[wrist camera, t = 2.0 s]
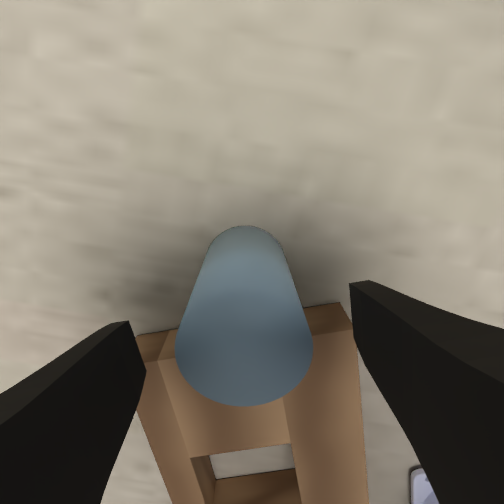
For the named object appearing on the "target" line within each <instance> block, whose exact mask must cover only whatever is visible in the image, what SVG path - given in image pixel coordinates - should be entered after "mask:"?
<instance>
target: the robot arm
mask: <svg viewBox="0 0 504 504" xmlns="http://www.w3.org/2000/svg"><path fill="white" fill-rule="evenodd" d="M349 288H350V300H351V313H352V326H353V338H354V340H355V343H356V345H357V348H358V350H359V352H360V355H361V357H362V359H363V361H364V364H365V366H366V368H367V369H368V371H369V373H370V374H371V376H372V378H373V380H374V381H375V383H376V385H377V386H378V388H379V390H380V392H381V393H382V395H383V397H384V398H385V400H386V402H387V403H388V405H389V407H390V408H391V410H392V412H393V413H394V415H395V417H396V418H397V420H398V422H399V424H400V425H401V427H402V429H403V430H404V432H405V434H406V436H407V438H408V439H409V441H410V443H411V445H412V447H413V449H414V451H415V453H416V455H417V457H418V459H419V461H420V464H421V466H422V469H416V470H414V471H413V472H412V473H411V504H504V329H502V328H499V327H495V326H491V325H488V324H484V323H481V322H477V321H474V320H471V319H468V318H465V317H462V316H459V315H456V314H453V313H450V312H448V311H445V310H442V309H439V308H436V307H434V306H431V305H429V304H426V303H424V302H421V301H419V300H416V299H414V298H411V297H409V296H407V295H404V294H402V293H400V292H397V291H395V290H393V289H390V288H388V287H386V286H383V285H381V284H378V283H376V282H373V281H370V280H366V281H360V282H354V283H349ZM146 372H147V370H146V368H145V365H144V362H143V359H142V356H141V354H140V351H139V348H138V345H137V342H136V340H135V337H134V334H133V331H132V328H131V326H130V323H129V320H128V321H122V322H116V323H111V324H109V325H107V326H105V327H103V328H101V329H99V330H98V331H96V332H95V333H93V334H91V335H90V336H88V337H87V338H85V339H84V340H82V341H81V342H79V343H78V344H76V345H75V346H74V347H72V348H71V349H69V350H68V351H66V352H65V353H63V354H62V355H60V356H59V357H57V358H56V359H54V360H53V361H51V362H50V363H48V364H47V365H45V366H44V367H42V368H41V369H39V370H38V371H36V372H34V373H33V374H31V375H30V376H28V377H27V378H25V379H24V380H22V381H20V382H19V383H17V384H16V385H14V386H13V387H11V388H9V389H8V390H6V391H4V392H3V393H1V394H0V504H100V503H101V500H102V496H103V493H104V490H105V488H106V485H107V482H108V479H109V476H110V474H111V471H112V469H113V466H114V464H115V461H116V459H117V456H118V454H119V451H120V449H121V446H122V444H123V441H124V439H125V437H126V434H127V432H128V429H129V427H130V424H131V422H132V419H133V416H134V414H135V411H136V409H137V406H138V403H139V401H140V397H141V393H142V390H143V386H144V381H145V377H146Z"/></svg>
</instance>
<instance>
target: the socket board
mask: <svg viewBox="0 0 504 504" xmlns="http://www.w3.org/2000/svg"><path fill="white" fill-rule="evenodd" d="M303 311H304V314H305V317H306V320H307V323H308V326H309V329H310V332H311V335H312V340H313V356H312V360H311V364H310V367H309V369H308V371H307V373H306V375H305V376H304V378H303V379H302V380H301V382H300V383H299V384H298V385H297V386H296V387H295V388H294V389H293V390H291V391H290V392H289V393H287V394H286V395H284V396H282V397H281V398H279V399H276V400H274V401H272V402H269V403H266V404H261V405H257V406H231V405H226V404H222V403H219V402H216V401H213V400H211V399H209V398H207V397H205V396H203V395H202V394H200V393H199V392H197V391H196V390H195V389H194V388H193V387H192V386H191V385H190V384H189V383H188V382H187V381H186V380H185V378H184V377H183V375H182V374H181V372H180V370H179V368H178V365H177V362H176V358H175V349H174V348H175V339H176V335H177V331H178V329H175V330H168V331H162V332H156V333H150V334H144V335H138V336H137V337H136V339H135V340H136V342H137V345H138V348H139V351H140V354H141V356H142V359H143V362H144V365H145V368H146V370H147V372H146V377H145V381H144V386H143V390H142V393H141V397H140V401H139V403H138V406H137V409H136V410H137V413H138V416H139V418H140V421H141V423H142V426H143V429H144V431H145V434H146V436H147V439H148V441H149V444H150V447H151V449H152V452H153V454H154V457H155V460H156V462H157V465H158V467H159V470H160V472H161V475H162V478H163V480H164V483H165V485H166V488H167V491H168V493H169V496H170V498H171V501H172V503H173V504H369V497H368V485H367V472H366V459H365V446H364V433H363V421H362V408H361V395H360V382H359V369H358V356H357V345H356V343H355V340H354V338H353V326H352V322H351V321H350V319H349V317H348V316H347V314H346V312H345V311H344V309H343V307H342V306H341V304H340V302H339V303H332V304H326V305H320V306H314V307H308V308H303ZM287 443H291V447H292V453H293V458H294V464H295V469H289V470H282V471H275V472H268V473H261V474H254V475H247V476H240V477H233V478H226V479H219V480H216V479H215V476H214V472H213V469H212V466H211V463H210V459H209V456H208V455H213V454H219V453H226V452H233V451H240V450H247V449H253V448H260V447H267V446H274V445H281V444H287Z"/></svg>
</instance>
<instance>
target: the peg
mask: <svg viewBox="0 0 504 504" xmlns="http://www.w3.org/2000/svg"><path fill="white" fill-rule="evenodd" d="M174 349H175V358H176V362H177V365H178V368H179V370H180V372H181V374H182V375H183V377H184V378H185V380H186V381H187V382H188V383H189V384H190V385H191V386H192V387H193V388H194V389H195V390H196V391H197V392H199V393H200V394H202V395H203V396H205V397H207V398H209V399H211V400H213V401H216V402H219V403H222V404H226V405H231V406H257V405H261V404H266V403H269V402H272V401H274V400H276V399H279V398H281V397H282V396H284V395H286V394H287V393H289V392H290V391H291V390H293V389H294V388H295V387H296V386H297V385H298V384H299V383H300V382H301V380H302V379H303V378H304V376H305V375H306V373H307V371H308V369H309V367H310V364H311V360H312V356H313V340H312V335H311V332H310V329H309V326H308V323H307V320H306V317H305V314H304V311H303V308H302V305H301V303H300V300H299V297H298V294H297V291H296V288H295V285H294V282H293V279H292V276H291V273H290V270H289V267H288V264H287V261H286V258H285V256H284V253H283V250H282V248H281V246H280V244H279V243H278V241H277V240H276V239H275V238H274V237H273V236H272V235H271V234H270V233H268V232H266V231H265V230H263V229H260V228H257V227H253V226H237V227H233V228H230V229H228V230H226V231H224V232H222V233H221V234H220V235H218V236H217V237H216V238H215V239H214V241H213V242H212V243H211V245H210V247H209V249H208V251H207V254H206V256H205V259H204V262H203V264H202V267H201V270H200V272H199V275H198V278H197V280H196V283H195V286H194V288H193V291H192V294H191V297H190V299H189V302H188V305H187V307H186V310H185V313H184V315H183V318H182V321H181V323H180V326H179V329H178V331H177V335H176V339H175V348H174Z"/></svg>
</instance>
